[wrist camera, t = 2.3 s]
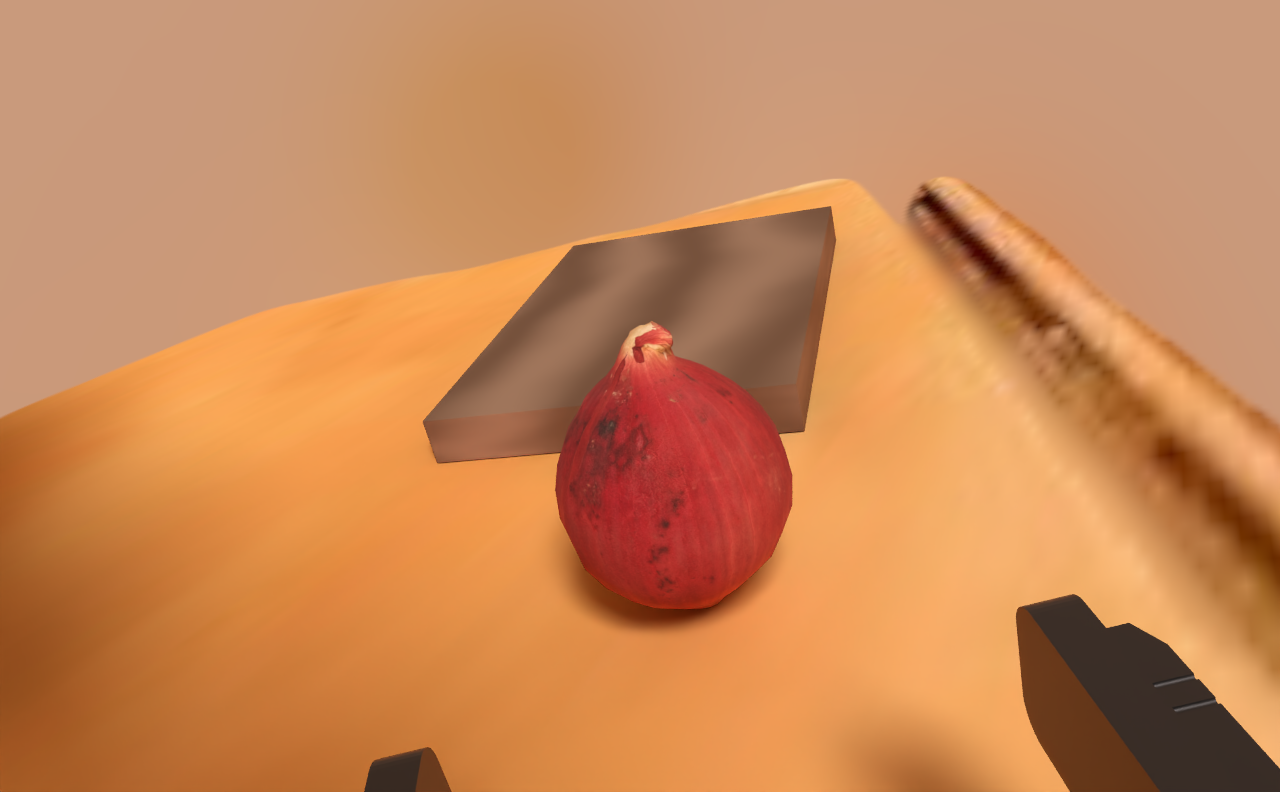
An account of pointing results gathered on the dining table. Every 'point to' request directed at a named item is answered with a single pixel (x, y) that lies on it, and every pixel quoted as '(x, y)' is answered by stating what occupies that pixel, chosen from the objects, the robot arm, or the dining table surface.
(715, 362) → the cutting board
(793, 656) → the dining table surface
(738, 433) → the onion
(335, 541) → the dining table surface
